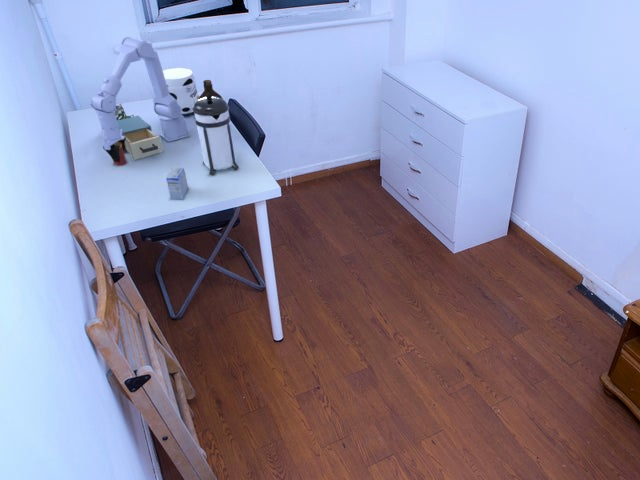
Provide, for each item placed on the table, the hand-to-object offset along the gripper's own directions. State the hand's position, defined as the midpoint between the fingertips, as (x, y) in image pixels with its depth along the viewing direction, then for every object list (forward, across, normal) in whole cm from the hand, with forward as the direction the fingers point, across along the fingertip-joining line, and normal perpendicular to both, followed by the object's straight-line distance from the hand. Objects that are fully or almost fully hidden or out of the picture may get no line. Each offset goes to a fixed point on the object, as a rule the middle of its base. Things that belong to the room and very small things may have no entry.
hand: (119, 158), depth 215 cm
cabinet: (+2, +18, +1) cm, 18 cm away
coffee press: (+2, -2, -39) cm, 39 cm away
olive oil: (+2, +24, -32) cm, 40 cm away
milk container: (+2, +52, -11) cm, 54 cm away
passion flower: (+2, +35, +11) cm, 37 cm away
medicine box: (+2, -24, -29) cm, 37 cm away
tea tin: (+2, 0, 0) cm, 2 cm away
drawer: (+1, +8, -7) cm, 11 cm away
